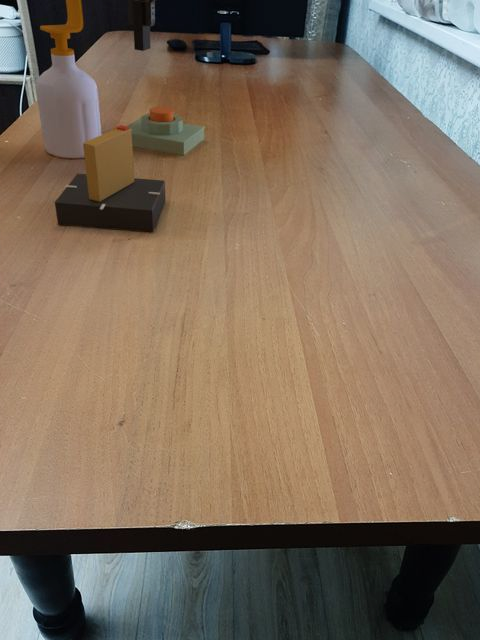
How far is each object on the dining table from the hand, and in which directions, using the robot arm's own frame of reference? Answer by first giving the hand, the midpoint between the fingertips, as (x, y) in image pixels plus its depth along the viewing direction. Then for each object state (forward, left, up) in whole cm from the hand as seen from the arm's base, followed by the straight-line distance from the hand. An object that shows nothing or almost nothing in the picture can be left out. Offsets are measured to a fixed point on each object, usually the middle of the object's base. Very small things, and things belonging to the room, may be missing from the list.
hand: (142, 48), depth 89 cm
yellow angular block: (+8, -27, -12) cm, 31 cm away
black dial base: (+8, -27, -15) cm, 32 cm away
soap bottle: (-9, -8, -15) cm, 19 cm away
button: (+2, +3, -11) cm, 12 cm away
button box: (+2, +3, -15) cm, 15 cm away
